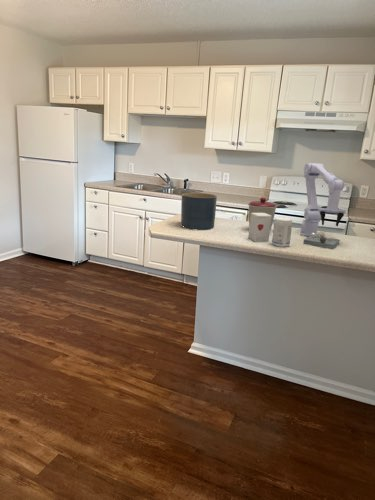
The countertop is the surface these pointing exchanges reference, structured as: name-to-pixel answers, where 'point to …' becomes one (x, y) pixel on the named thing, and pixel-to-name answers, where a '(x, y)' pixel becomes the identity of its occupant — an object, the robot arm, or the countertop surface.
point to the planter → (198, 210)
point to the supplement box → (259, 227)
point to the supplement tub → (282, 231)
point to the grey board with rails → (329, 242)
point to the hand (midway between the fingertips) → (329, 225)
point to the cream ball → (321, 234)
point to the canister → (262, 208)
